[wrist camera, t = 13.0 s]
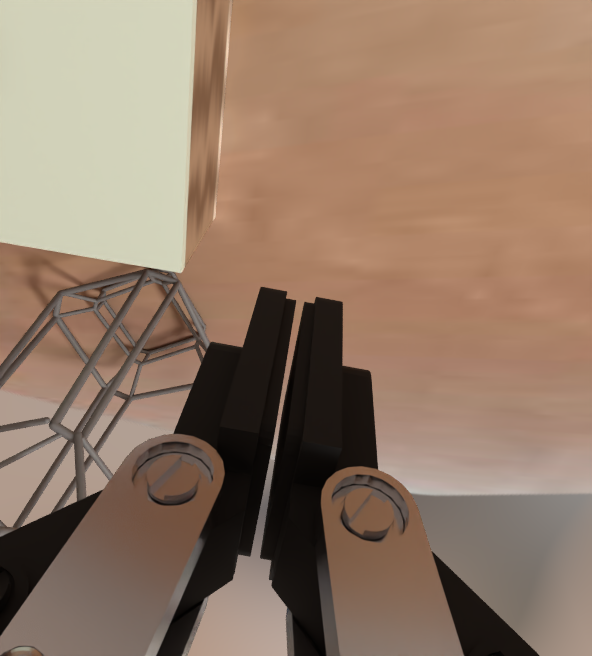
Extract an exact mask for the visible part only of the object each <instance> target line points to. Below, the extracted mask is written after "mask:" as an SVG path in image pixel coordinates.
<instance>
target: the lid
mask: <svg viewBox="0 0 592 656" xmlns="http://www.w3.org/2000/svg"><path fill="white" fill-rule="evenodd" d="M196 12H197V0H0V242H3V243H9V244H14V245H20V246H26V247H32V248H38V249H44V250H49V251H55V252H61V253H67V254H73V255H79V256H84V257H90V258H96V259H102V260H108V261H114V262H119V263H125V264H131V265H137V266H143V267H149V268H154V269H160V270H166V271H172V272H178V273H182V271H183V269H184V267H185V252H186V230H187V208H188V186H189V165H190V143H191V121H192V99H193V77H194V55H195V34H196Z"/></svg>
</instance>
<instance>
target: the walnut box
mask: <svg viewBox="0 0 592 656" xmlns="http://www.w3.org/2000/svg"><path fill="white" fill-rule="evenodd" d="M231 13H232V0H197V12H196V34H195V55H194V77H193V99H192V121H191V143H190V165H189V186H188V208H187V230H186V252H185V266H186V265H187V263H188V261H189V260H190V258H191V256H192V255H193V253H194V251H195V250H196V248H197V246H198V245H199V243H200V242H201V240H202V238H203V237H204V235H205V233H206V232H207V230H208V228H209V227H210V225H211V223H212V222H213V220H214V218H215V216H216V203H217V190H218V178H219V165H220V152H221V139H222V127H223V114H224V101H225V89H226V76H227V63H228V51H229V38H230V25H231Z"/></svg>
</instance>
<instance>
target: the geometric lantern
mask: <svg viewBox="0 0 592 656" xmlns="http://www.w3.org/2000/svg"><path fill="white" fill-rule="evenodd" d="M160 272H165V273H168V274H167V275H165V274H162V273H160ZM171 276H172V277H171ZM148 277H149V278H150V280H148V281H146V279H147V278H148ZM156 278H157V279H156ZM138 279H139V280H138ZM158 279H160V280H158ZM135 280H138V281H137V283H136V285H134V286H131V287H129V288H126V289H123V290H120V291H118V292H115V293H112V294H109V295H107V296H106V291H108V290H111V289H114V288H116V287H119V286H122V285H124V284H127V283H130V282H132V281H135ZM161 280H163V281H161ZM118 282H119V283H118ZM154 282H155V283H157V284H160V285H162V286H163V288H164V289H165V291H166V293H167V296H166V298H165V299H164V301H163V302H162V304H161V305H160V307H159V309H158V310H157V312H156V313H155V315H154V317H153V318H152V320H151V321H150V323H149V324H148V326H147V328H146V329H145V331H144V332H143V334H142V335H141V337H140V339H139V340H138V342H137V343H135V342H134V340H133V339H132V337H131V336H130V334H129V333H128V331H127V330H126V329H125V327H124V326H123V324H122V323H121V322H122V320H123V318H124V317H125V315H126V313H127V312H128V310H129V308H130V307H131V305H132V303H133V302H134V300H135V298H136V297H137V295H138V293H139V292H140V290H141V288H142V287H143V286H146V285H149V284H152V283H154ZM114 283H116V284H114ZM110 284H114V285H111V286H108V287H106V288H103V289H102V293H101V294H100V295H99V296H98V298H97V299H95V298H90V297H86V296H82V295H78V294H74V293H78V292H82V291H86V290H90V289H94V288H98V287H102V286H106V285H110ZM168 284H174V285H173V286H172V288H171V290H169V288H168V287H167V285H168ZM177 290H178V292H179V294H180V296H181V298H182V300H183V302H184V304H185V306H186V308H187V310H188V312H189V314H190V316H191V318H192V320H193V322H194V324H195V326H196V329H197V331H198V333H199V334H198V335H197V333H196V332H195V330H194V329H193V327H192V325H191V324H190V322H189V321H188V319H187V317H186V316H185V314H184V313H183V311H182V309H181V308H180V306H179V304H178V303H177V301H176V300H175V298H174V295H175V294H176V292H177ZM129 291H132V292H131V293H130V295H129V296H128V298H127V300H126V301H125V303H124V304H123V306H122V308H121V309H120V311H119V312H118V314H117V316H116V314H115V313H114V311H113V310H112V308H111V307H110V306H109V304H108V303H107V301H106V300H107V299H110V298H113V297H116V296H118V295H121V294H124V293H127V292H129ZM63 296H69V297H73V298H77V299H82V300H86V301H90V302H94V305H93V307H90V308H85V309H81V310H76V311H71V312H66V313H61V314H59V313H60V307H61V302H62V298H63ZM171 301H172V302H173V304H174V305H175V307H176V309H177V310H178V312H179V313H180V315H181V317H182V318H183V320H184V321H185V323H186V325H187V326H188V328H189V329H190V331H191V333H192V334H193V336H194V337H192V338H189V339H185V340H182V341H179V342H176V343H173V344H170V345H167V346H164V347H161V348H158V349H155V350H152V351H147V350H143V349H142V348H143V346H144V345H145V343H146V341H147V340H148V338H149V337H150V335H151V333H152V332H153V330H154V328H155V327H156V325H157V323H158V322H159V320H160V318H161V317H162V315H163V314H164V312H165V310H166V309H167V307H168V305H169V304H170V302H171ZM99 302H100V303H99ZM98 303H99V304H98ZM103 304H104V305H105V307H106V308H107V309H108V311H109V312H110V314H111V315H112V317H113V318H114V320H113V322H112V324H111V325H110V326H109V324H108V323H107V322H106V320H105V319H104V318H103V316H102V315H101V314H100V312H99V311H98V310H99V309H100V308H101V306H102V305H103ZM53 308H54V310H53V317H52V318H51V319H50V321H49V322H48V323H47V324H46V325H45V326H44V327H43V328H42V330H41V331H40V332H39V333H38V334H37V335H36V337H35V338H34V339H33V340H32V341H31V342H30V343H29V345H28V346H27V347H26V348H25V349H24V350H23V352H22V353H21V354H20V355H19V353H20V352H21V351H22V349H23V348H24V347H25V345H26V344H27V343H28V341H29V340H30V339H31V337H32V336H33V335H34V333H35V332H36V331H37V329H38V328H39V327H40V325H41V324H42V323H43V321H44V320H45V319H46V317H47V316H48V315H49V313H50V312H51V311H52V309H53ZM90 311H94V312H95V314H96V315H97V316H98V318H99V319H100V320H101V322H102V323H103V324H104V326H105V327H106V328H107V332H106V333H105V335H104V336H103V338H102V340H101V341H100V343H99V344H98V346H97V348H96V349H95V351H94V352H93V354H92V356H91V357H90V359H89V358H88V357H87V355H86V354H85V352H84V351H83V350H82V348H81V347H80V345H79V344H78V342H77V341H76V339H75V338H74V336H73V335H72V333H71V332H70V331H69V329H68V328H67V326H66V325H65V323H64V322H63V320H62V319H61V317H66V316H71V315H76V314H80V313H85V312H90ZM55 323H57V324H58V325H59V327H60V328H61V330H62V331H63V333H64V334H65V335H66V337H67V338H68V340H69V341H70V343H71V344H72V346H73V347H74V348H75V350H76V351H77V353H78V354H79V356H80V357H81V358H82V360H83V361H84V363H85V364H86V365H85V367H84V368H83V370H82V372H81V373H80V375H79V376H78V378H77V380H76V381H75V383H74V384H73V386H72V388H71V389H70V391H69V392H68V394H67V396H66V397H65V399H64V400H63V402H62V403H61V405H60V407H59V408H58V410H57V411H56V413H55V415H54V416H53V418H52V419H51V421H50V419H49V418H48V417H45V418H40V419H35V420H29V421H24V422H19V423H13V424H8V425H3V426H0V432H4V431H9V430H15V429H20V428H26V427H31V426H36V425H42V424H47V423H49V422H50V423H49V427H50V429H51V430H53V431H54V432H56V433H57V434H55V435H53V436H51V437H49V438H47V439H45V440H43V441H41V442H39V443H37V444H36V445H33V446H31V447H29V448H28V449H26V450H24V451H22V452H20V453H18V454H16V455H14V456H12V457H10V458H8V459H6V460H4V461H2V462H0V468H2V467H4V466H6V465H8V464H10V463H12V462H14V461H16V460H18V459H20V458H22V457H24V456H26V455H27V454H29V453H31V452H33V451H35V450H37V449H39V448H41V447H43V446H45V445H47V444H49V443H51V442H52V441H54V440H56V439H58V438H60V437H64V438H65V439H67V440H68V441H67V443H66V444H65V446H64V448H63V449H62V451H61V452H60V454H59V455H58V457H57V458H56V460H55V461H54V463H53V464H52V466H51V468H50V469H49V471H48V472H47V474H46V476H45V477H44V479H43V480H42V482H41V483H40V485H39V486H38V488H37V490H36V491H35V492H34V494H33V496H32V497H31V499H30V500H29V502H28V503H27V505H26V507H25V508H24V510H23V511H22V513H21V514H20V516H19V518H18V519H17V521H16V522H15V524H14V526H13V527H7V526H6V525H5V524H4V523H3V522H1V520H0V537H1V536H3V535H5V534H7V533H9V532H12V531H14V530H16V529H18V528H20V527H21V525H22V524H23V522H24V521H25V519H26V518H27V516H28V515H29V513H30V511H31V510H32V509H33V507H34V506H35V504H36V503H37V501H38V499H39V497H40V496H41V494H42V493H43V491H44V490H45V488H46V487H47V485H48V483H49V482H50V480H51V479H52V477H53V475H54V474H55V472H56V470H57V469H58V467H59V466H60V464H61V463H62V461H63V459H64V458H65V456H66V454H67V453H68V451H69V450H70V448H71V447H72V445H73V443H74V449H75V469H76V476H75V477H74V479H73V481H72V482H71V484H70V485H69V487H68V488H67V490H66V491H65V493H64V494H63V496H62V497H61V499H60V500H59V502H58V503H57V505H56V506H55V508H54V509H53V511H52V512H51V513H53V512H55V511H57V510H60V509H62V508H63V507H64V505H65V503H66V502H67V500H68V499H69V497H70V495H71V494H72V493H73V491H74V489H75V488H77V501H79V500H81V499H84V498H86V483H85V472H86V471H87V469H88V468H89V466H90V465H91V463H92V461H93V460H94V461H95V463H96V464H97V465H98V466H99V468H100V469H101V470H102V472H103V473H104V474H105V476H106V477H107V478H108V480H109V481H110V480H111V478H112V477H113V474H112V473H111V471H110V470H109V469H108V467H107V466H106V465H105V463H104V462H103V461H102V459H101V458H100V457H99V456H98V452H99V450H100V449H101V447H102V446H103V444H104V443H105V441H106V439H107V438H108V436H109V435H110V433H111V432H112V430H113V429H114V427H115V425H116V424H117V422H118V421H119V419H120V418H121V416H122V415H123V413H124V412H125V410H126V409H127V407H128V406H129V404H130V403H131V402H132V400H137V399H142V398H148V397H153V396H158V395H163V394H168V393H173V392H179V391H184V390H189V389H191V388H192V386H193V383H192V384H187V385H182V386H177V387H171V388H166V389H161V390H156V391H151V392H146V393H141V394H136V395H134V392H135V388H136V385H137V382H138V378H139V375H140V372H141V368H142V366H143V365H146V364H149V363H152V362H155V361H158V360H162V359H165V358H168V357H171V356H174V355H177V354H180V353H183V352H186V351H189V350H193V349H196V351H197V353H198V356H199V358H200V361H201V363H202V361H203V356H202V353H201V351H200V348H199V344H200V346H201V347H202V348H203V349H204V350H205V352H206V351H207V348H208V346H209V344H210V342H209V340H208V338H207V336H206V334H205V329H206V325H205V324H204V322H203V320H202V319H201V317H200V315H199V313H198V312H197V310H196V308H195V307H194V305H193V303H192V302H191V300H190V298H189V297H188V295H187V293H186V292H185V290H184V288H183V286H182V284H181V282H180V281H179V280H178V278H177V276H176V275H175V273H174V272H172V271H166V270H160V269H153V270H150V269H144V270H140V271H136V272H132V273H128V274H124V275H120V276H116V277H112V278H108V279H104V280H100V281H96V282H92V283H89V284H85V285H81V286H77V287H73V288H69V289H65V290H61V291H58V292H57V294H56V295H55V296H54V297H53V299H52V300H51V301H50V302H49V304H48V305H47V306H46V308H45V309H44V310H43V311H42V313H41V314H40V315H39V316H38V318H37V319H36V320H35V322H34V323H33V324H32V326H31V327H30V328H29V329H28V331H27V332H26V333H25V335H24V336H23V337H22V338H21V340H20V341H19V342H18V344H17V345H16V346H15V347H14V349H13V350H12V351H11V353H10V354H9V355H8V356H7V358H6V359H5V360H4V362H3V363H2V364H1V365H0V388H1V387H2V386H3V385H4V384H5V382H6V381H7V380H8V379H9V378H10V376H11V375H12V374H13V373H14V372H15V370H16V369H17V368H18V367H19V366H20V365H21V363H22V362H23V361H24V360H25V359H26V357H27V356H28V355H29V354H30V353H31V351H32V350H33V349H34V348H35V347H36V346H37V344H38V343H39V342H40V341H41V340H42V338H43V337H44V336H45V335H46V334H47V332H48V331H49V330H50V329H51V328H52V327H53V325H54V324H55ZM118 327H120V328H121V329H122V331H123V332H124V334H125V335H126V337H127V338H128V339H129V341H130V342H131V344H132V345H133V347H134V348H133V350H132V351H131V353H130V352H129V351H128V349H127V348H126V347H125V346H124V344H123V343H122V342H121V340H120V339H119V338H118V336H117V335H116V334H115V332H116V330H117V328H118ZM112 337H114V339H115V340H116V341H117V343H118V344H119V345H120V347H121V348H122V349H123V351H124V352H125V353H126V354H127V356H128V358H127V359H126V361H125V362H124V364H123V366H122V367H121V369H120V370H119V372H118V373H117V374H116V375H115V376H114V377H113V378H112V379H111V380H110V381H109V382H108V383H107V384H106V383H105V382H104V380H103V379H102V377H101V376H100V374H99V373H98V371H97V370H96V369H95V365H96V363H97V362H98V360H99V358H100V357H101V355H102V353H103V352H104V350H105V348H106V347H107V345H108V343H109V342H110V340H111V338H112ZM194 340H196V343H195V345H193V346H190V347H187V348H184V349H181V350H178V351H175V352H172V353H168V354H165V355H162V356H159V357H156V358H153V359H150V360H148V358H149V356H150V355H151V354H154V353H157V352H160V351H163V350H166V349H169V348H172V347H175V346H179V345H182V344H185V343H188V342H191V341H194ZM201 340H202V341H203V342H202V341H201ZM140 352H141V353H145V354H146V356H145V358H144V360H143V361H142V362H141V361H138V360H136V358H137V356H138V355H139V353H140ZM18 355H19V356H18ZM17 356H18V357H17ZM16 357H17V358H16ZM15 359H16V360H15ZM14 360H15V361H14ZM13 361H14V362H13ZM133 363H136V364H139V365H138V369H137V372H136V375H135V379H134V382H133V385H132V389H131V392H130V395H126V394H124V393H122V392H120V391H117V389H118V387H119V386H120V384H121V382H122V381H123V379H124V378H125V376H126V374H127V373H128V371H129V369H130V368H131V366H132V364H133ZM90 373H92V374H93V376H94V377H95V379H96V380H97V382H98V383H99V384H100V386H101V387H102V389H101V390H100V392H99V393H98V395H97V396H96V398H95V399H94V401H93V402H92V404H91V405H90V407H89V409H88V410H87V412H86V413H85V415H84V416H83V418H82V419H81V421H80V423H79V424H78V426H77V427H76V429H75V430H74V432H73V431H71V430H69V429H68V428H66V427H64V426H63V425H61V424H60V423H61V421H62V420H63V417H64V416H65V415H66V413H67V411H68V410H69V408H70V406H71V405H72V403H73V401H74V400H75V398H76V397H77V395H78V393H79V392H80V390H81V388H82V387H83V385H84V383H85V382H86V380H87V378H88V377H89V375H90ZM103 395H104V396H103ZM114 395H115V396H118V397H120V398H122V399H125V400H126V401H125V402H124V404H123V405H122V407H121V408H120V410H119V411H118V412H117V414H116V415H115V417H114V418H113V420H112V421H111V423H110V424H109V426H108V428H107V429H106V431H105V432H104V434H103V435H102V437H101V438H100V440H99V441H98V443H97V444H96V446H95V447H94V449H93V448H92V446H91V445H90V444H89V442H88V441H87V438H88V436H89V434H90V433H91V431H92V429H93V428H94V426H95V425H96V423H97V421H98V420H99V418H100V417H101V415H102V413H103V412H104V410H105V409H106V407H107V405H108V404H109V402H110V401H111V399H112V397H113V396H114ZM93 411H94V412H93ZM90 416H91V417H90ZM88 419H89V420H88ZM87 421H88V422H87ZM85 424H86V425H85ZM84 426H85V427H84ZM83 427H84V428H83ZM82 429H83V430H82ZM81 431H82V432H81ZM83 447H84V448H85V449H86V451H87V452H88V453H89V457H88V458H87V459H86V461H85V462H84V450H83Z"/></svg>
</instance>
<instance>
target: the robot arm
mask: <svg viewBox="0 0 592 656" xmlns="http://www.w3.org/2000/svg"><path fill="white" fill-rule="evenodd" d="M286 295H287V291H281V290H276V289H271V288H265V287H261V288H260V291H259V294H258V298H257V301H256V305H255V308H254V311H253V315H252V318H251V321H250V325H249V328H248V332H247V335H246V338H245V342H244V345H243V347H237V346H232V345H226V344H221V343H215V342H211V343H210V344H209V346H208V348H207V351H206V353H205V356H204V358H203V361H202V363H201V366H200V368H199V371H198V373H197V376H196V378H195V381H194V383H193V386H192V388H191V391H190V393H189V396H188V398H187V401H186V403H185V406H184V408H183V411H182V413H181V416H180V418H179V421H178V423H177V426H176V428H175V431H174V433H173V434H169V435H162V436H158V437H155V438H151V439H149V440H147V441H145V442H143V443H142V444H140V445H138V446H137V447H136V448H135V449H134V450H133V451H132V452H131V453H130V454H129V455H128V456H127V457H126V458H125V460H124V461H123V463H122V464H121V466H120V467H119V468H118V470H117V471H116V472H115V474H114V475H113V477H112V478H111V480H110V481H109V482H108V484H107V485H106V487H105V488H104V489H103V490H101V491H99V492H97V493H95V494H93V495H90V496H88V497H86V498H84V499H81V500H79V501H77V502H75V503H73V504H71V505H68V506H66V507H64V508H62V509H60V510H57V511H55V512H53V513H51V514H49V515H47V516H44V517H42V518H40V519H38V520H36V521H33V522H31V523H29V524H27V525H25V526H23V527H20V528H18V529H16V530H14V531H12V532H9V533H7V534H5V535H3V536H1V537H0V656H187V655H188V652H189V650H190V647H191V645H192V642H193V640H194V637H195V635H196V632H197V629H198V627H199V624H200V621H201V619H202V616H203V614H204V611H205V609H206V606H207V601H208V597H209V595H211V594H212V593H214V592H215V591H217V590H218V589H219V588H221V587H222V586H224V585H225V584H227V583H228V582H230V581H231V580H232V579H233V575H234V573H235V568H236V562H237V557H238V555H244V556H250V555H251V550H252V544H253V540H254V535H255V530H256V525H257V520H258V515H259V510H260V505H261V500H262V495H263V490H264V485H265V480H266V474H267V470H268V464H269V460H270V455H271V450H272V444H273V439H274V433H275V428H276V422H277V416H278V410H279V403H280V397H281V391H282V385H283V379H284V373H285V366H286V360H287V354H288V348H289V342H290V336H291V330H292V323H293V317H294V311H295V305H296V300H291V299H286ZM342 341H343V302H341V301H335V300H330V299H324V298H319V297H316V299H315V303H314V304H313V303H307V302H304V306H303V311H302V316H301V321H300V326H299V331H298V336H297V341H296V346H295V351H294V356H293V360H292V365H291V370H290V375H289V380H288V385H287V390H286V395H285V400H284V405H283V411H282V417H281V423H280V430H279V436H278V443H277V449H276V456H275V463H274V469H273V476H272V482H271V489H270V496H269V502H268V509H267V516H266V522H265V528H264V535H263V541H262V548H261V555H260V558H261V559H267V560H271V568H270V575H269V580H272V588H273V589H274V590H275V592H276V593H277V594H278V596H279V597H280V598H281V600H282V601H283V602H284V603H285V605H286V606H287V613H286V632H287V654H288V656H539V655H538V654H537V652H535V650H533V649H532V648H531V647H530V646H529V645H528V644H527V643H526V642H525V641H524V640H523V639H522V638H521V637H520V636H519V635H518V634H517V633H516V632H515V631H514V630H513V629H512V628H511V627H510V626H509V625H508V624H507V623H505V621H503V620H502V619H501V618H500V617H499V616H498V615H497V614H496V613H495V612H494V611H493V610H492V609H491V608H490V607H489V606H488V605H487V604H486V603H485V602H484V601H483V600H482V599H481V598H480V597H479V596H478V595H477V594H476V593H474V592H473V591H472V590H471V589H470V588H469V587H468V586H467V585H466V584H465V583H464V582H463V581H462V580H461V579H460V578H459V577H458V576H457V575H456V574H455V573H454V572H453V571H452V570H451V569H450V568H449V567H448V566H446V564H444V562H442V561H441V560H440V559H439V558H438V557H437V556H436V555H435V554H434V553H433V552H432V551H431V548H430V545H429V542H428V539H427V535H426V532H425V529H424V526H423V522H422V519H421V516H420V513H419V510H418V507H417V505H416V503H415V501H414V499H413V497H412V495H411V494H410V493H409V492H408V490H407V489H406V488H405V487H404V486H403V485H402V484H401V483H400V482H399V481H397V480H396V479H394V478H393V477H392V476H390V475H389V474H386V473H384V472H382V471H379V470H378V462H377V448H376V435H375V421H374V407H373V393H372V379H371V373H370V371H369V370H363V369H358V368H352V367H347V366H342Z"/></svg>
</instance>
